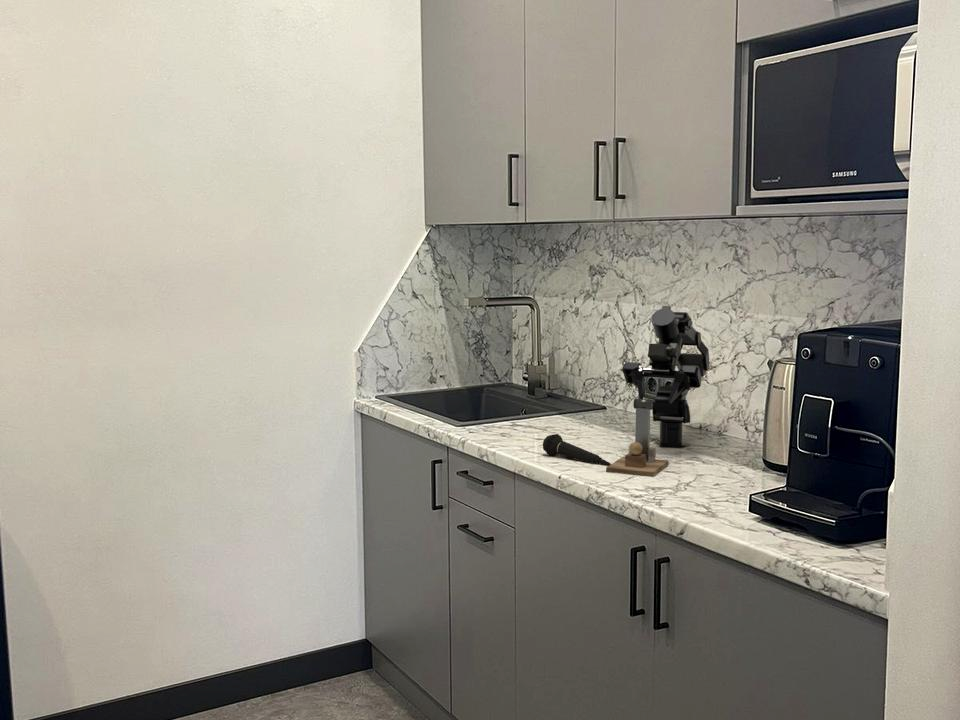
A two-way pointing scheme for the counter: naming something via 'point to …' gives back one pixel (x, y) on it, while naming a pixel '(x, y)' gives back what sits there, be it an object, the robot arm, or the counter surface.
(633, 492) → the counter surface
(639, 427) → the lever
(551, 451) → the microphone
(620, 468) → the nutcracker base
